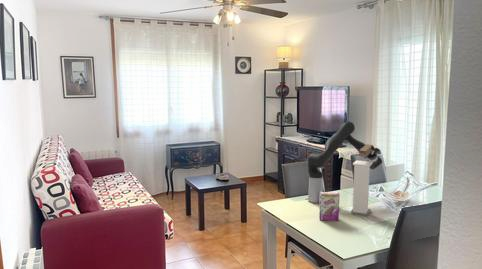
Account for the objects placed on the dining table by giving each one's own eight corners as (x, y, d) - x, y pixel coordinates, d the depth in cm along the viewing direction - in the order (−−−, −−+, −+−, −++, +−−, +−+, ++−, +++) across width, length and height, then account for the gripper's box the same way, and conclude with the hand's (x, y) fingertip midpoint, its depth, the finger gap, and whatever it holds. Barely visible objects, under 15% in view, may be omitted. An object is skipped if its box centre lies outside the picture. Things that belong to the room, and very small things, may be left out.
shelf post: (367, 216, 222) (369, 165, 217) (350, 213, 226) (352, 163, 222) (370, 211, 230) (372, 161, 226) (354, 208, 235) (356, 160, 231)
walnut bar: (365, 157, 221) (366, 150, 220) (359, 156, 223) (359, 150, 222) (372, 150, 242) (372, 144, 241) (366, 150, 243) (366, 144, 243)
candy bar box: (319, 220, 215) (320, 194, 213) (318, 217, 220) (319, 191, 218) (339, 221, 214) (339, 194, 212) (337, 218, 219) (338, 191, 217)
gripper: (361, 149, 256) (357, 140, 242) (383, 151, 250) (380, 141, 235) (360, 159, 254) (356, 151, 240) (381, 161, 247) (379, 152, 233)
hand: (368, 146), depth 238 cm, fingers closed on walnut bar, 4 cm apart
